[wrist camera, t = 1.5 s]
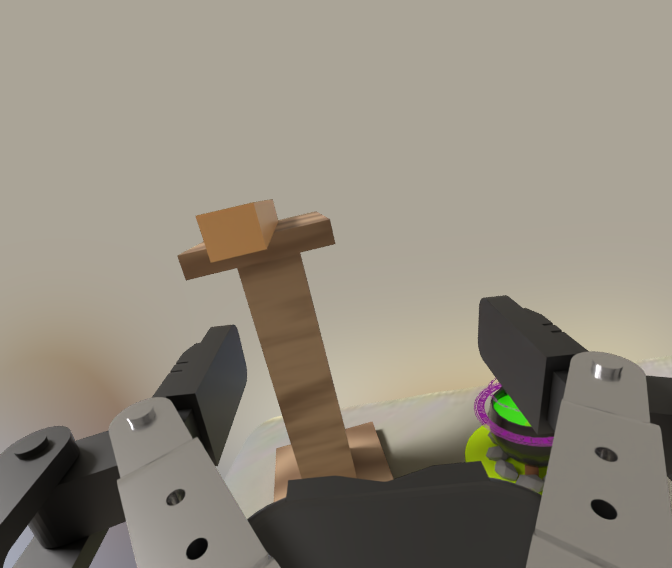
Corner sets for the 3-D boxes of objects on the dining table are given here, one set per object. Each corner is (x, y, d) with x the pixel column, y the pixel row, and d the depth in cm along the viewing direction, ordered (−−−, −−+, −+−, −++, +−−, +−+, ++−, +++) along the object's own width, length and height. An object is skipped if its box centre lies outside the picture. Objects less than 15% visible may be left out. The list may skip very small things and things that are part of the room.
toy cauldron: (657, 486, 35) (659, 389, 32) (525, 545, 32) (514, 446, 30) (540, 404, 49) (534, 332, 46) (441, 441, 47) (429, 367, 44)
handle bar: (266, 249, 19) (253, 202, 18) (210, 262, 19) (195, 215, 18) (278, 221, 40) (272, 199, 40) (252, 227, 40) (246, 205, 39)
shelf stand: (409, 526, 36) (342, 216, 28) (275, 567, 35) (164, 258, 27) (374, 430, 51) (323, 209, 43) (279, 457, 50) (208, 236, 42)
